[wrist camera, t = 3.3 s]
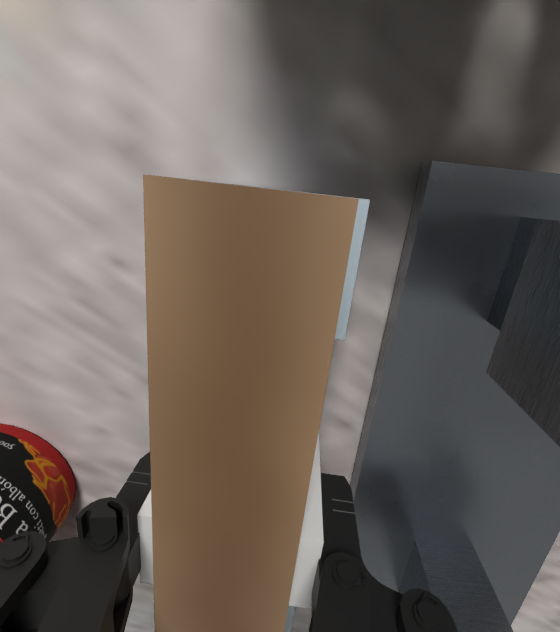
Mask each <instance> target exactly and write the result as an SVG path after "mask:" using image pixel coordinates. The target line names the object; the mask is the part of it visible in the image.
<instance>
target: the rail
mask: <svg viewBox="0 0 560 632" xmlns="http://www.w3.org/2000/svg"><path fill="white" fill-rule="evenodd" d="M143 186H144V226H145V266H146V305H147V345H148V385H149V425H150V465H151V505H152V544H153V584H154V624H155V632H284V629H285V623H286V617H287V611H288V606H289V600H290V594H291V588H292V582H293V577H294V571H295V565H296V559H297V554H298V548H299V542H300V536H301V530H302V525H303V519H304V513H305V507H306V502H307V496H308V490H309V484H310V478H311V473H312V467H313V461H314V455H315V450H316V444H317V438H318V432H319V426H320V421H321V415H322V409H323V403H324V398H325V392H326V386H327V380H328V374H329V369H330V363H331V357H332V351H333V346H334V340H335V334H336V328H337V322H338V317H339V311H340V305H341V299H342V294H343V288H344V282H345V276H346V270H347V265H348V259H349V253H350V247H351V242H352V236H353V230H354V224H355V218H356V213H357V207H358V201H359V199H357V198H348V197H339V196H330V195H321V194H312V193H303V192H294V191H286V190H277V189H268V188H259V187H250V186H241V185H232V184H223V183H214V182H206V181H197V180H188V179H179V178H170V177H161V176H152V175H143Z"/></svg>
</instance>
